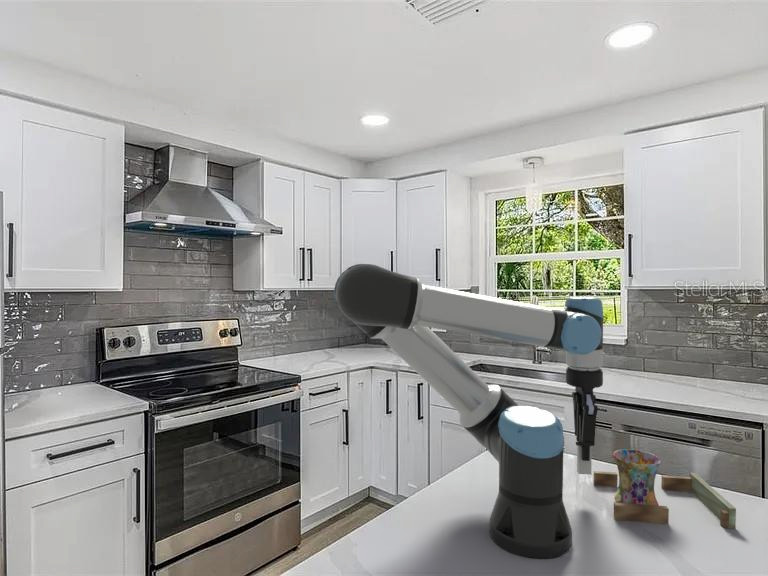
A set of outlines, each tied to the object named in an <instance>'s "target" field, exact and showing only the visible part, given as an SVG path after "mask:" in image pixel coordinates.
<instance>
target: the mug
mask: <svg viewBox="0 0 768 576" xmlns="http://www.w3.org/2000/svg"><path fill="white" fill-rule="evenodd" d="M612 457H613V458H614V460H615V463H616V466H617V471H618V477H619V479H618V480H619V481H618V486H617V491H616V493H615V494H614V500H615V503H629V504H643V505H657V506H660V505H659V502H658V500H657V498H656V494H655V480H656V477H657V473H658V471H659V468H660V466H661V464H662V459H661V457H659V456H657V455H655V454H653V453H650V452H648V451H644V450H639V449H633V448H632V449H631V448H625V449H624V448H623V449H617V450H615V451H614V452H613V455H612Z"/></svg>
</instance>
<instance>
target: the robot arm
mask: <svg viewBox="0 0 768 576" xmlns="http://www.w3.org/2000/svg"><path fill="white" fill-rule="evenodd" d="M333 294H334V300H335V304H336V305H337V308H339V310H340V311H341V313H342V314H343V315H344V316H345V317H346V318H347V319H348V320H349V321H351V322H353V323H354V324H355V325H356V326H357V327H358V328H359V329H360V330H361V331H362V332H363V333H364V334H365V335H367V336H368V337H369V338H370V339H371V340H372V339H373V340H374V339H376V340H377V339H380V340H382V341H383V342H384V343H385V344H386V345H387V346H388V347H390V348H391V349H392V351H394V352H395V354H396V355H398V356H399V357H400V358H401V359H402V360H403V362H405V363H407V365H408V366H409V367H411V369H412V370H414V371H415V372H416V374H418V375H419V376H420V377H421V378H422V380H424V381H425V382H426V383H427V384H428V385H429V386H431V388H432V389H434V391H436V392H437V394H439V396H441V397H442V398H443V399H444V400H445V401H446V402H447V403H448V404H449V405H450V406H451V407H452V408H454V410H455V411H457V413H459V423H460V425H461V426H462V428H464V429H465V431H467V432H468V433H469V434H470V435H471V436H472V437H473V438H474V439H475V440H476V441H477V442H478V444H479V445H481V446H483V448H484V449H486V450H487V451H488V452H489V454H490V455H492V457H493V458H494V459H495V460H496V461H497V463H498V494H497V497H496V500H495V503H494V505H493V509H492V511H491V513H490V517H489V521H488V522H489V524H488V525H489V526H488V531H489V536H490V537H491V539H492V541H493V542H494V543H496V545H498V546H499V547H501V548H502V549H504V550H505V551H508V552H510V553H512V554H515V555H519V556H523V557H526V558H531V559H532V558H533V559H551V558H557V557H559V556H562V555H564V554H566V553H568V552H569V551H570V550H571V548H572V546H573V530H572V526H571V523H570V520H569V517H568V513H567V510H566V507H565V504H564V501H563V495H564V493H563V489H564V487H563V486H564V447H565V435H564V428H563V424H562V422H561V420H560V418H558V417H557V416H556V415H555V414H553V412H552V413H551V412H550V411H548V410H545V409H540V408H539V407H534V406H528V405H519V404H518V403H517V402H515V400H514V399H513V398H512V397H511V396H510V395H508V394H507V392H505V390H504V389H502V387H500V385H498V384H495V383H494V384H490V383H489V384H487V383H486V382H485V381H484V380H483V379H482V378H481V377H480V376H479V375H478V374H477V373H476V372H475V371H474V370H473V369H472V368H471V367H470V366H469V365H468V364H467V363H465V362H464V360H462V358H461V357H460V356H459V355H458V354H457V353H456V352H455V351H454V350H453V349H451V347H449V346H448V345H447V344H446V343H445V342H444V341H443V339H441V338H440V336H438V335H437V334H436V333H435V332H434V331H433V330H432V329H438V330H444V331H449V332H453V333H454V332H455V333H456V332H457V333H460V334H467V335H474V336H478V337H479V336H480V337H483V338H484V337H485V338H491V339H495V340H501V341H507V342H508V341H509V342H515V343H518V344H519V343H520V344H525V345H532V346H538V347H543V348H547V349H553V350H559V351H565V365H566V366H567V367H566V369H565V383H567V385H568V386H571V387H575V391H572V393H571V396H572V404H573V421H574V423H573V424H574V436H575V437H576V438H575V440H576V441H575V445H576V472H577V474H578V475H592V447H594V446H595V444H596V443H595V440H596V437H595V436H596V423H597V414H598V411H599V407H598V405H596V403H597V401H596V400H597V397H596V395H595V394H594V389H596V388H597V389H598V388H601V387H603V384H604V370H603V369H602V368H603V365H604V364H603V360H604V359H603V357H606V353H605V352H604V351H603V348H604V347H603V346H604V345H603V344H604V343H603V342H604V320H605V319H604V318H605V317H604V307H603V301H602V299H600V298H599V297H595V296H573V297H571V296H569V297H567V298H566V299H565V300H566V301H565V304H564V305H565V306H559V307H557V306H556V307H555V306H554V307H552V306H548V307H547V306H541V305H538V304H537V305H535V304H531V303H526V302H525V303H524V302H520V301H515V300H509V299H508V300H507V299H504V298H503V299H502V298H499V297H495V296H494V297H493V296H487V295H482V294H477V293H471V292H466V291H462V290H461V291H460V290H455V289H449V288H446V287H445V288H444V287H440V286H439V287H438V286H434V285H428V284H423V283H422V282H421V280H420V279H419V277H415V276H410V275H405V274H401V273H398V272H396V271H392V270H389V269H387V268H384V267H381V266H379V265H377V264H373V263H372V264H370V263H358V264H354V265H351V266H348V267H347V268H346V269H345V270H344V271H342V272H341V274H340V276H338V278H337V280H336V281H335V285H334V290H333Z"/></svg>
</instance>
